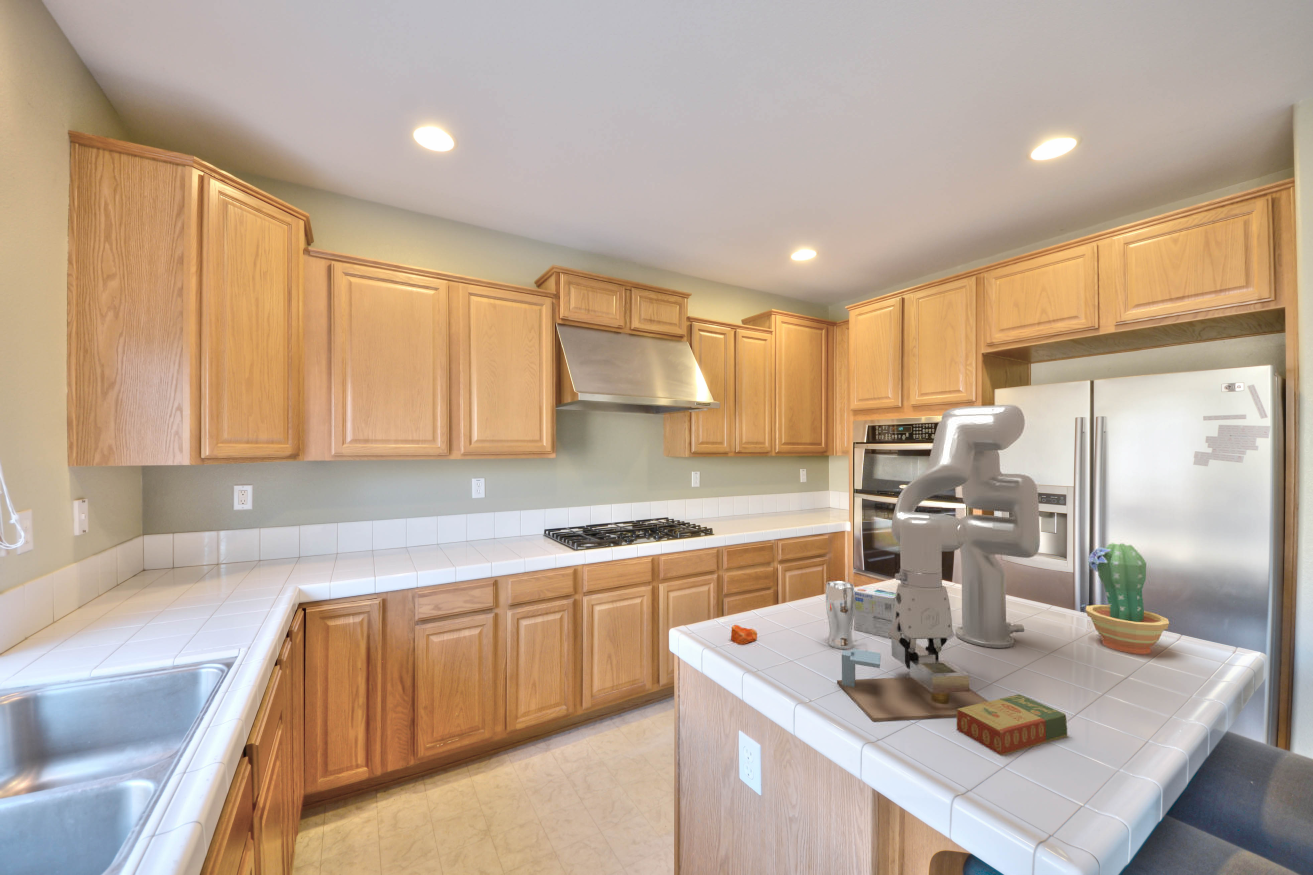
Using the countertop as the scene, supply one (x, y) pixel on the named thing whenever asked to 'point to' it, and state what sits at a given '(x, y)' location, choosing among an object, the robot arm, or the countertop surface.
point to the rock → (742, 635)
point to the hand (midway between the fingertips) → (921, 668)
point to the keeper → (857, 663)
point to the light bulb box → (874, 611)
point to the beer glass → (840, 613)
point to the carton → (1011, 723)
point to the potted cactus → (1124, 601)
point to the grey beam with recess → (933, 671)
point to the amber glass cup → (940, 698)
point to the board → (905, 699)
